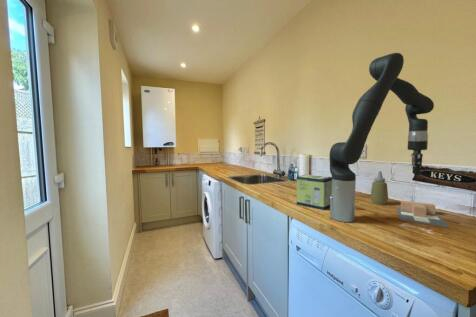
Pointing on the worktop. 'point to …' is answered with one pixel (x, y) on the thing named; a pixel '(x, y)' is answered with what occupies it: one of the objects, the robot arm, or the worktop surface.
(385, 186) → the squeeze bottle
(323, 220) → the worktop surface
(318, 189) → the protein box
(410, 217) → the mat
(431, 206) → the T-block
